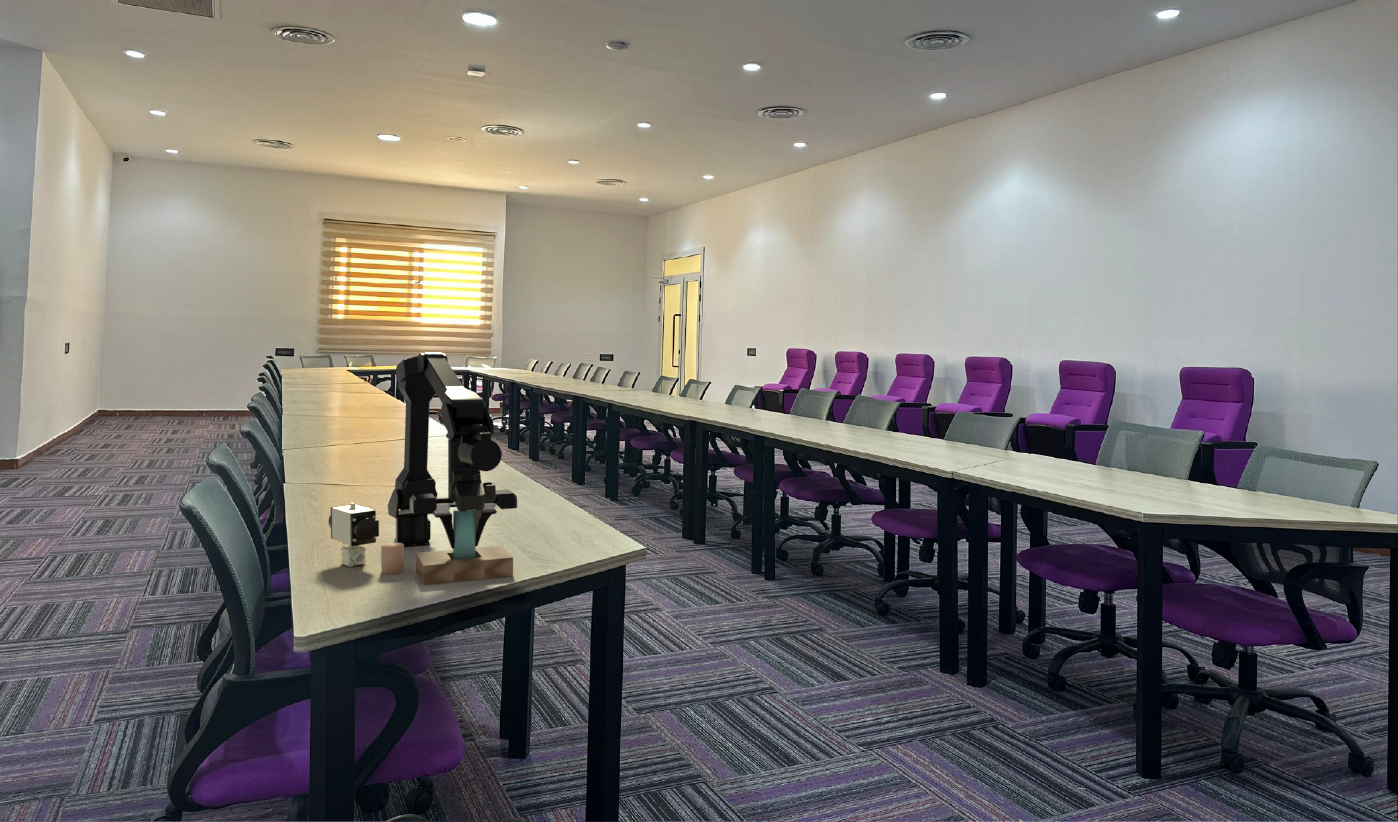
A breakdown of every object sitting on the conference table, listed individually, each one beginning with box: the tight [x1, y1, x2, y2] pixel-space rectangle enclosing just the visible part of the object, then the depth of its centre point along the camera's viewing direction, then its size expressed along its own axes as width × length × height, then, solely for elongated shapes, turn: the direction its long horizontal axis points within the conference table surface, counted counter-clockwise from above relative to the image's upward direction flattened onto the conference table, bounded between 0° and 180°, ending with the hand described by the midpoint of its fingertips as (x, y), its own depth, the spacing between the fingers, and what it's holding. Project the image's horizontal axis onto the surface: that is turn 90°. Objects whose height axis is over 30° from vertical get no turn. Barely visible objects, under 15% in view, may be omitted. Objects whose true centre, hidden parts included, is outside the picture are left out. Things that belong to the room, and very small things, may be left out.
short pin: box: [380, 542, 405, 575], centre depth 155 cm, size 4×4×5 cm
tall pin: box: [452, 508, 476, 560], centre depth 154 cm, size 4×4×10 cm
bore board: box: [415, 545, 514, 586], centre depth 154 cm, size 16×10×4 cm, turn 116°
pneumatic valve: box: [328, 502, 380, 568], centre depth 159 cm, size 6×12×12 cm, turn 48°
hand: (464, 547), depth 154 cm, fingers closed on tall pin, 4 cm apart
